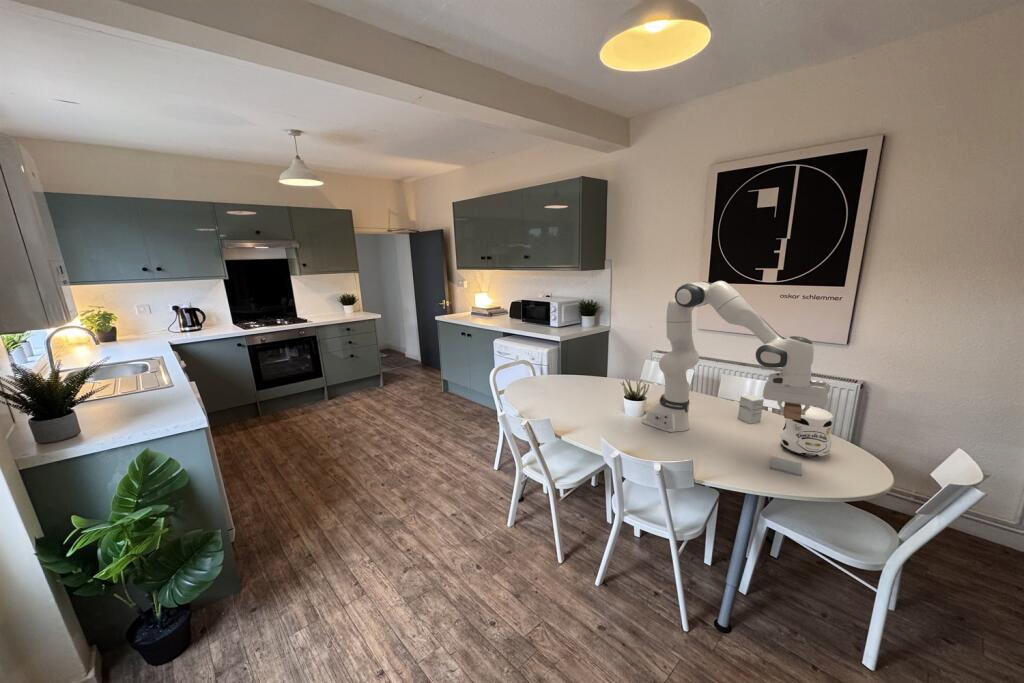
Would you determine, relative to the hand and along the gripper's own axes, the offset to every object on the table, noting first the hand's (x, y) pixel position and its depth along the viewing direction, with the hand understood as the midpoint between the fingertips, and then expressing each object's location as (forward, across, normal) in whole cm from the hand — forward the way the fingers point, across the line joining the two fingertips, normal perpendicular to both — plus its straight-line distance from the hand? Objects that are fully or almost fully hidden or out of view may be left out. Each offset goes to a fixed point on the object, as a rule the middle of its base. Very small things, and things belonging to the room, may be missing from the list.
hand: (792, 413), depth 149 cm
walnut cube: (+2, 0, 0) cm, 2 cm away
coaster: (+23, 0, 0) cm, 23 cm away
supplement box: (+22, +13, -43) cm, 50 cm away
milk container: (+23, -7, -19) cm, 31 cm away
